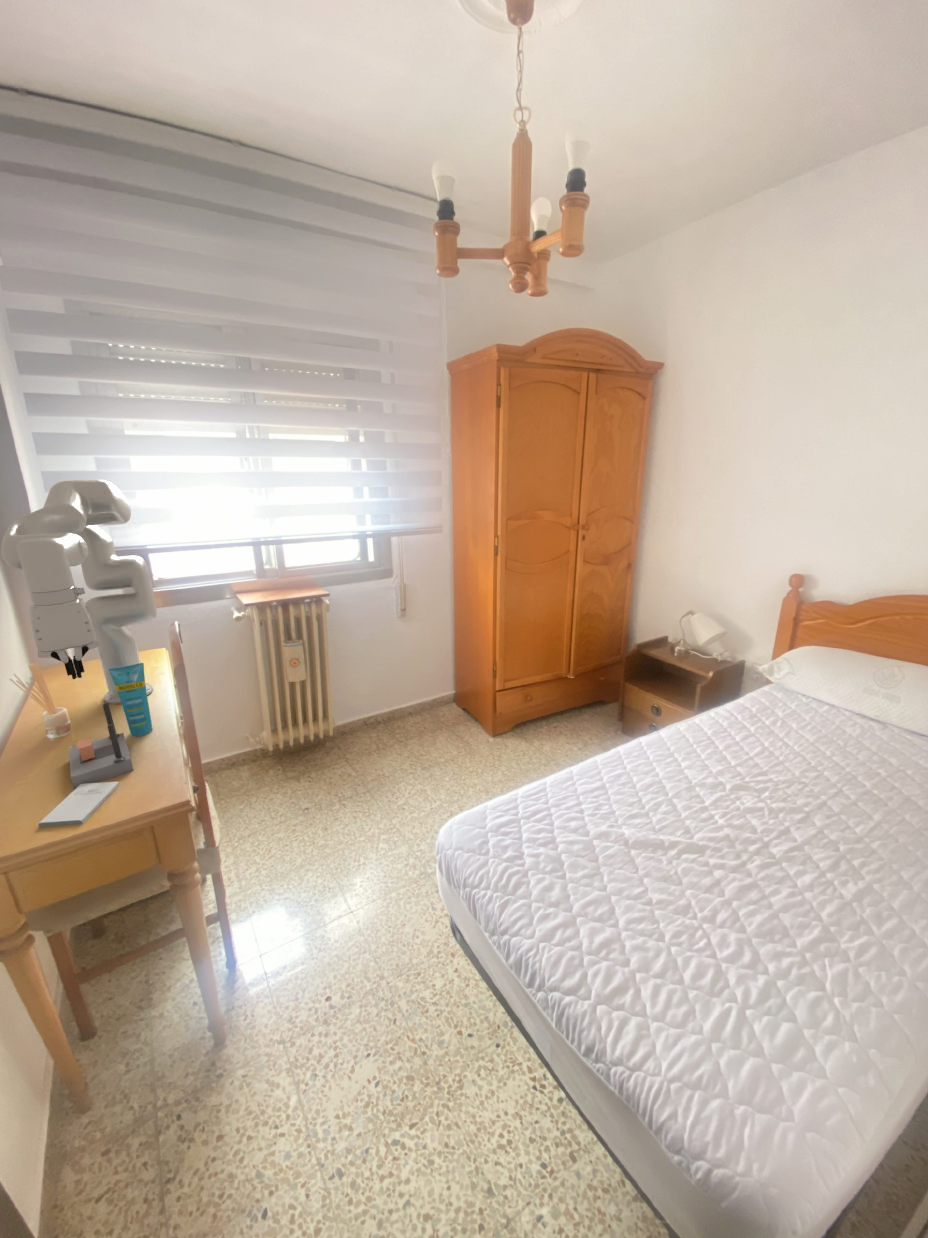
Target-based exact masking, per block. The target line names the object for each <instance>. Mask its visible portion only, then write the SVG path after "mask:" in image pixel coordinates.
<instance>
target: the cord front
mask: <svg viewBox="0 0 928 1238" xmlns="http://www.w3.org/2000/svg"><path fill="white" fill-rule="evenodd" d="M114 726H115V724H114V725H113V724H109V725H108V724H107V731H108V735H109V736H110V739H111V742H112V746H113V750H114V753H115V757H116V758H121V757H122V754H121V750H120V747H119V743H118V739H117V735H116V734H117V731H116V732H115V730H116V727H115V728H114Z"/></svg>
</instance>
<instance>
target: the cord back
mask: <svg viewBox="0 0 928 1238" xmlns="http://www.w3.org/2000/svg"><path fill="white" fill-rule="evenodd" d="M102 708H103V712H104V716H105V719H106V723H107V726H108V725H109V724H113V725H114V728H115V732H116V733H117V730H116V726H115V724H114V719H113V715H112V712H111V708H110V703H107V702H104V703H102Z"/></svg>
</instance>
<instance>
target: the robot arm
mask: <svg viewBox="0 0 928 1238" xmlns="http://www.w3.org/2000/svg"><path fill="white" fill-rule="evenodd" d="M131 516H132V511H131V506H130V504H129V501H128V499H127V498H126V496H125V495H124V494H123V493H122V492H121V490H120V489H119V488H118V487H117V485H114V483H112V482H110V481H107V480H105V479H90V480H89V479H86V480H85V479H83V480H81V479H80V480H77V479H76V480H74V479H73V480H63V481H58V482H56V483H55V484H54V485H52V486H51V488H50V490H49V491H48V494H47V496H46V500H45V502H44V505H43V507H42V508H39V509H36V510H35V511H32V512H31V513H29V514H27V515H24V516H22V517H20V518H18V519H16V520H14V521H13V522H12V523H11V524H10V525H9V526H8V527H7V529H6V531H5V533H4V536H3V538H2V541H1V545H0V550H1V556H2V559H3V561H4V563H5V564H7V566H9V568H12V569H13V570H16V571H22V572H23V576H24V579H25V581H26V585H27V589H28V593H29V595H30V599H31V602H32V604H31V605H29V607H28V611H29V619H30V625H31V630H32V634H33V638H34V642H35V645H36V648H37V657H38V658H40V659H47V658H48V659H51V658H53V659H55V660H58V661H59V662H61V663H62V664H64V669H65V672H66V674H67V677H68V676H71V677H72V680H76V679H77V678H78V679H82V678H83V677H82V674H83V673H85V668H84V665H83V661H82V659H83V657H84V656H85V655H86V654H87V653H88V652H89V651H90V650H94V649H95V648H97V651H98V657H99V660H100V664H101V667H102V672H103V675H104V679H105V682H106V687H107V690H108V691H107V692H106V693H105V694H104V696H103V700H104V703H108V704H113V705H116V704H119V705H120V704H121V701H120V698H119V695H118V692H117V689H116V686H115V684H114V681H113V679H112V676H111V674H110V672H109V670H108V669H111V668H118V667H124V666H129V665H134V664H138V663H142V662H141V659H140V655H139V654H140V653H139V649H138V646H137V640H136V638H135V637H134V635H133V634H132V633H131V632H130V631H129V630H127V629H126V628H125V627H126V626H127V627H128V626H135V625H142V624H149V623H152V622H154V621H156V618H157V605H156V600H155V599H156V598H155V595H154V590H153V589H154V588H153V585H152V584H153V583H152V578H151V574H150V569H149V567H148V564H147V562H146V560H145V559H144V558H143V557H141V556H138V555H121V556H117V553H116V550H115V545H114V540H113V539H112V538H111V535H109V534H108V533H106V531H104V530H103V529H101V528H100V527H99V526H113V525H124V524H127V523H128V522H129V521H130V519H131ZM77 566H81V571H82V576H83V580H84V584H85V585H86V586H87V588H88V589H89V590H91V591H94V592H95V591H96V592H106V591H114V590H115V591H116V590H126V589H132V590H133V591H134V592H128V593H127V592H125V593H116V594H115V593H114V594H108V595H107V594H106V595H100V596H96V597H92V598H90V599H88V600H87V601H84V599H83V598H79V597H80V596H81V595H85V594H86V592H85V588H84V587H77V586H75V581H74V578H73V575H72V570H71V568H70V567H77ZM72 648H74V655H73V659H72V658H71V657H70V656H69V655H68V653H67V650H68V649H72ZM145 685H146V692H147V696H148V695H150V694H151V693H152V692H153V690H154V688H153V685H152V684H151V683H147V682H145Z"/></svg>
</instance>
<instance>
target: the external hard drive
mask: <svg viewBox="0 0 928 1238" xmlns="http://www.w3.org/2000/svg"><path fill="white" fill-rule="evenodd" d="M119 787H120V782H119V781H105V782H95V783H86V784H80V785H79V786H78V787H77V788H76V789H74V790H73V791H72V792H70V793H69V794H68V795H67V796H66V797H65V798H64V799H63V800H62V801H61V802H59V804H58V805H56V806H55V807H54V808H53V809H52V810H51V811H50V812H49V813H48V814H47V815H45V816H44V817H43V818H42V819H41V821H39V822H38V824H37V825H38V828H47V827H49V828H51V827H63V826H64V827H65V826H77V825H78V826H79V825H84V824H85V823H86V822H87V821H88V820H89V819H90V818H91V816H92V815H93V814H94V813H95V812H96V811H97V810H98V809H99V808H100V807H101V806H102V805H103V803H104V802H105V801H106V800H108V798H109V797H110V796H111V795H112V794H113V793H114V792H115V791H116V790H117V789H118V788H119Z"/></svg>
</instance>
